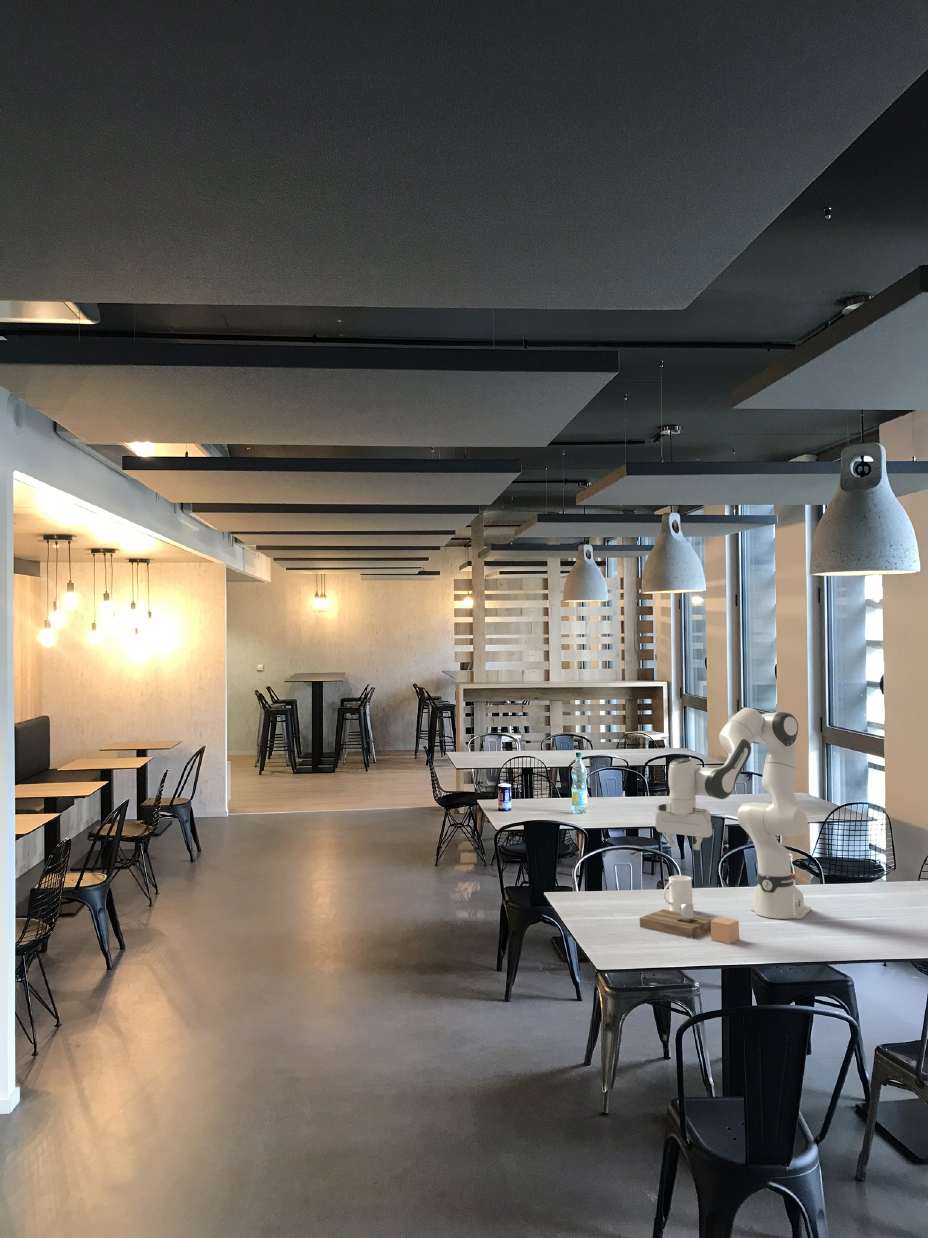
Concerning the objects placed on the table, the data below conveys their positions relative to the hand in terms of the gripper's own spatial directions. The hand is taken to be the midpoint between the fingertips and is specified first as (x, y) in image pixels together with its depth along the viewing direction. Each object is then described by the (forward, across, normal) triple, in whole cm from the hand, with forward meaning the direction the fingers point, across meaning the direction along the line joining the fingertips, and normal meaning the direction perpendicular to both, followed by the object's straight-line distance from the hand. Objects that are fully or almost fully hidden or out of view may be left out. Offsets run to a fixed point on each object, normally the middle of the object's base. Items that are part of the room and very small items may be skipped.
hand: (684, 848), depth 289 cm
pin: (+27, 0, 0) cm, 27 cm away
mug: (+27, +15, -18) cm, 36 cm away
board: (+27, +4, 0) cm, 27 cm away
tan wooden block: (+27, -15, +2) cm, 31 cm away
